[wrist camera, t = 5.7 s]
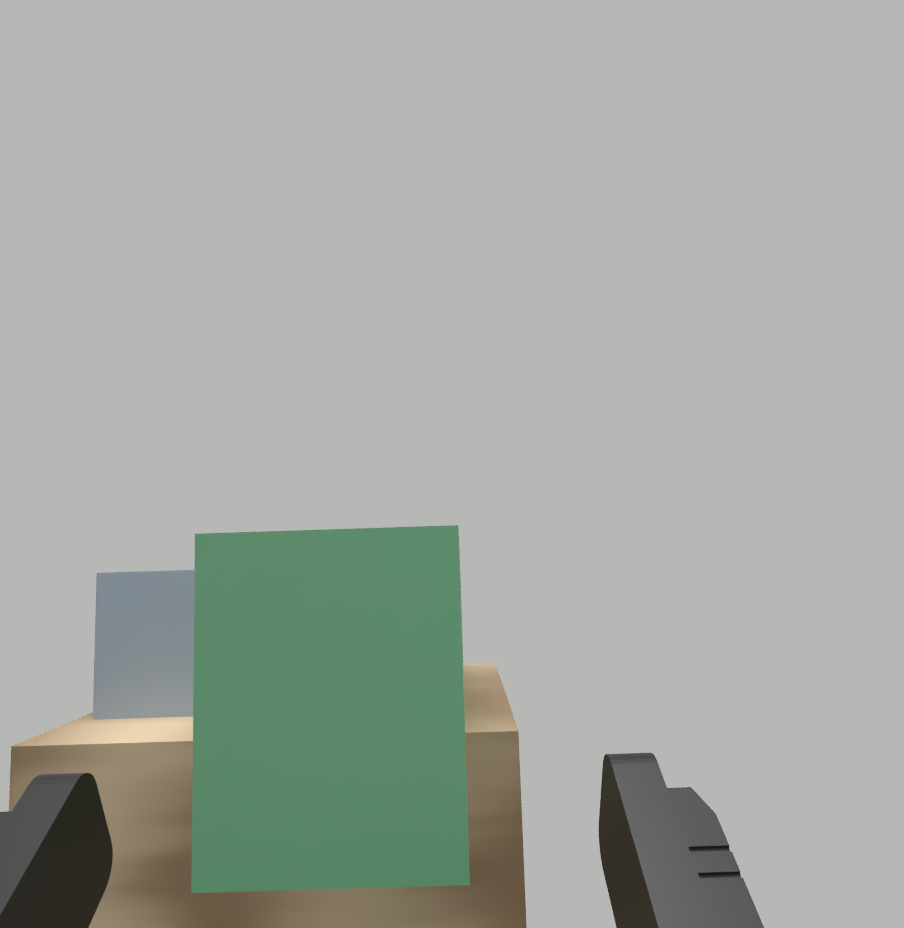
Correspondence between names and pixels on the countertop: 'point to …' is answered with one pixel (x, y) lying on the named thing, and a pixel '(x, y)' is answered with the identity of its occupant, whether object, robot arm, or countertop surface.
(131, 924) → the oak shelf block
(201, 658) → the green bar
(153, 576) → the slate-blue brick
